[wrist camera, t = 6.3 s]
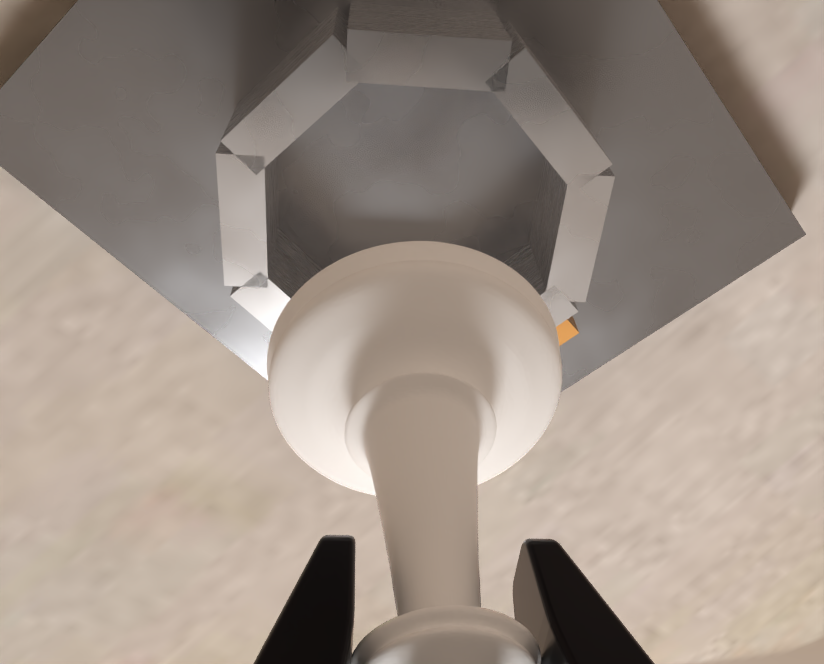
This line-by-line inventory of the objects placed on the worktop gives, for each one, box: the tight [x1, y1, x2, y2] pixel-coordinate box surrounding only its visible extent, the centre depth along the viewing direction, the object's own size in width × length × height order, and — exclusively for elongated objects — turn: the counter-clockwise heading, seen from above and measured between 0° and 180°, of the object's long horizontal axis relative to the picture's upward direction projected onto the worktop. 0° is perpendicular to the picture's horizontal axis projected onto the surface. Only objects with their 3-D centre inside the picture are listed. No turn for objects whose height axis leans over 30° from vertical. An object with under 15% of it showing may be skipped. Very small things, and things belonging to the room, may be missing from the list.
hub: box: [0, 0, 806, 392], centre depth 19 cm, size 16×14×4 cm
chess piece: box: [267, 241, 562, 664], centre depth 9 cm, size 5×5×10 cm
